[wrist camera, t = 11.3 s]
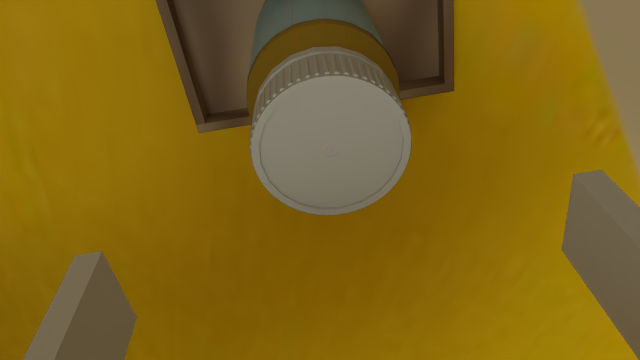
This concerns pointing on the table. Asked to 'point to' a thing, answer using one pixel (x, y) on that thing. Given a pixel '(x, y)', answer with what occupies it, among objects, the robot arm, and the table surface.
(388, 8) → the tray
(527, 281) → the table surface
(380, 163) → the bottle
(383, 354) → the table surface
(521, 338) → the table surface
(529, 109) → the table surface
